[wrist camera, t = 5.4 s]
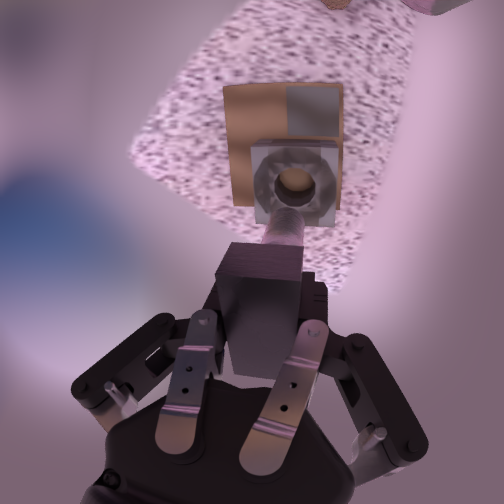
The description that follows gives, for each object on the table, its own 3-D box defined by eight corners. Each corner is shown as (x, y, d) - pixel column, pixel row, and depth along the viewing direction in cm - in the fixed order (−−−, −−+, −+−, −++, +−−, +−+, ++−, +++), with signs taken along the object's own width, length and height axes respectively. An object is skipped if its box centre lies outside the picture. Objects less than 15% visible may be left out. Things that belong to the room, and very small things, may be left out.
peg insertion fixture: (227, 86, 30) (207, 86, 24) (340, 84, 27) (348, 82, 21) (237, 200, 38) (222, 222, 32) (338, 204, 35) (342, 228, 30)
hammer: (264, 180, 20) (214, 274, 10) (308, 181, 19) (300, 280, 10) (267, 259, 23) (234, 374, 14) (305, 261, 23) (291, 381, 13)
